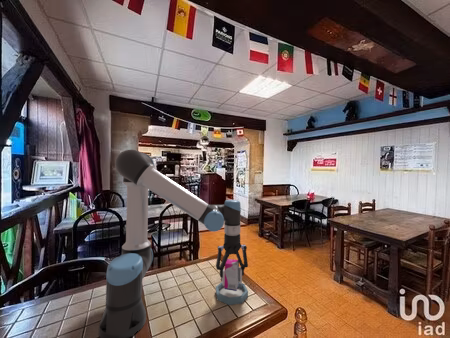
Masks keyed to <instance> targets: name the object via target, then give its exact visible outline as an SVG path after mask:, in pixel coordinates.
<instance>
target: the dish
mask: <svg viewBox="0 0 450 338" xmlns="http://www.w3.org/2000/svg"><path fill="white" fill-rule="evenodd" d="M215 295H216V300H217V301H219V302H221V303H224V304H226V305H228V306H231V305H238V304H239V305H240V304H243V303H244V301H246V299H247V298H248V297H249V290H248V288H247V287H246V285H245V283H243V282H242V284H240V282H239V286H238V288H237V291H233V290H227V289H224V286H223V285H222V281H221V282H220V283H218V284H217V285H216V286H215Z"/></svg>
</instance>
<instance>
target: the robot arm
mask: <svg viewBox="0 0 450 338" xmlns="http://www.w3.org/2000/svg"><path fill="white" fill-rule="evenodd" d="M114 165H115V166H114V167H115V170H116V171H117V173H118V174H119V175H120V176H121V177H122V179H123V180H122V183H123V184H124V185H125V186H126V217H125V218H126V221H125V222H126V227H125V229H126V232H125V233H126V234H125V243H123V245H122V246H121V254H120V255H119V256H117V257H115V258H113V259H112V260H111V261H110V262H109V263H108V265H107V269H106V274H105V278H106V281H105V282H106V284H105V287H106V288H105V308H104V310H103V311H104V312H103V314H102V316H101V319H100V322H99V325H98V336H99V338H131V337H133V336H135V335H134V333H136V332H137V331H138V332H140V331H141V330H142V329H143V327H144V325H145V324H146V320H147V311H146V308H145V305H144V302H143V299H142V297H143V296H142V294H143V292H142V291H143V288H142V287H143V279H144V278H145V277H146V276H145V275H146V274H147V272H148V271H149V269H150V267H151V265H152V263H153V260H154V253H153V249H152V243H151V241H150V240H149V239H148V231H149V230H148V229H149V227H148V224H149V223H148V222H149V220H148V219H149V191H151V192H152V193H154V194H155V195H156V196H159V197H160V198H162V199H163V200H165V201H166V202H169V204H172V206H175V207H176V208H177V209H179V210H181V211H182V212H184V213H186V214H187V215H189V216H190V217H191V218H193V219H195V220H197V221H198V222H199V223H201V224H202V225H204V227H205V228H206V229H207V230H208V231H210V232H219V231H220V230H221V229H222V228H223V227H224V228H223V229H224V230H223V231H224V235H223V239H224V241H223V245H220V246H219V245H217V246H216V247H217V255H216V257H217V258H216V262H215V263H216V264H215V267H216V270H217V271H219V278H221V282H222V285H223V286H225V264H226V261H227V259H229V258H230V255H235V256H236V258H237V260H238V261H239V282H240V284H242V283H243V277H244V274H245V269H246V268H248V267H249V265H248V262H249V261H248V256H247V249H248V246H247V245H246V244H241V215H242V213H241V212H242V209H241V207H242V206H241V202H240V201H239V199H237V200H236V199H226V200H225V201H224V204H209V203H207V202H206V201H204V200H203V199H201V198H199V197H198V196H197V195H195V194H193V193H192V192H190V191H189V190H188V189H186V188H184V187H183V186H181V185H180V184H178V183H177V182H175V181H174V180H172V179H170V177H168V176H166V175H165V174H163V173H161V171H158V170H157V169H155V162H154V160H153V158H152V157H151V156H150V155H148V154H147V153H145V152H141V151H139V150H136V149H126V150H123V151H121V152H119V154H118V155H117V157H116V158H115V161H114ZM240 250H241V251H242V252H241V253H242V257H243V261H242V258H241V256H240V252H239V251H240ZM223 251H225V252H224V255H223V258H222V252H223ZM221 259H222V260H221ZM140 329H141V330H140ZM139 330H140V331H139ZM138 332H137V333H138ZM137 333H136V334H137Z"/></svg>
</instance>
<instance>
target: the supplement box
mask: <svg viewBox="0 0 450 338" xmlns="http://www.w3.org/2000/svg"><path fill="white" fill-rule="evenodd" d="M239 267H240V264H239V261H238V259H234V258H233V259H231V258H228V259H227V261H226V264H225V266H224V270H225V286H224V289H227V290H233V291H237V288H238V286H239Z"/></svg>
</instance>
